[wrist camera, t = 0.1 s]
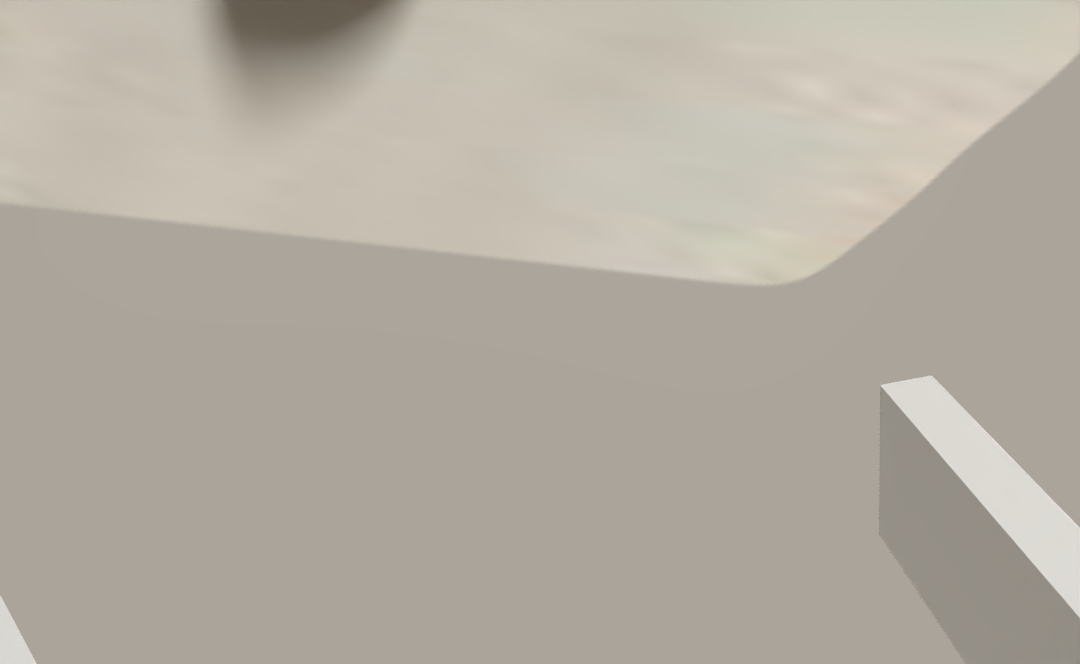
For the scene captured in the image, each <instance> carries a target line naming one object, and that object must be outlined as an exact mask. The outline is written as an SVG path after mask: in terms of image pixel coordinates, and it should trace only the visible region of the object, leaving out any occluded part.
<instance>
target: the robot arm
mask: <svg viewBox="0 0 1080 664" xmlns="http://www.w3.org/2000/svg"><path fill="white" fill-rule="evenodd" d="M879 512H880V513H879V515H880V517H879V535H880V536H881V538H882V539H883V541H884V542H885V544H886V545H887V547H888V548H889V550H890V551H891V553H892V554H893V556H894V557H895V558H896V560H897V562H898V563H899V565H900V566H901V568H902V569H903V571H904V572H905V574H906V575H907V577H908V578H909V580H910V581H911V583H912V584H913V586H914V587H915V589H916V590H917V592H918V593H919V595H920V596H921V598H922V599H923V601H924V602H925V604H926V605H927V607H928V608H929V610H930V611H931V613H932V614H933V616H934V617H935V619H936V620H937V622H938V623H939V625H940V626H941V628H942V629H943V631H944V632H945V634H946V635H947V637H948V638H949V640H950V641H951V642H952V644H953V646H954V647H955V649H956V650H957V652H958V653H959V655H960V656H961V658H962V659H963V661H964V662H965V664H1080V528H1079V527H1078V526H1077V525H1076V524H1075V523H1074V521H1072V520H1071V518H1070V517H1069V516H1068V515H1067V514H1066V513H1065V512H1064V511H1063V510H1062V509H1061V508H1060V507H1059V506H1058V505H1057V504H1056V503H1055V502H1054V501H1053V500H1052V499H1051V498H1050V497H1049V496H1048V495H1047V494H1046V493H1045V492H1044V491H1043V490H1042V489H1041V488H1040V487H1039V486H1038V484H1036V482H1035V481H1034V480H1033V479H1032V478H1031V477H1030V476H1029V475H1028V474H1027V473H1026V472H1025V471H1024V470H1023V469H1022V468H1021V467H1020V466H1019V465H1018V464H1017V463H1016V462H1015V461H1014V460H1013V459H1012V458H1011V457H1010V456H1009V455H1008V454H1007V453H1006V452H1005V451H1004V450H1003V448H1002V447H1000V445H999V444H998V443H997V442H996V441H995V440H994V439H993V438H992V437H991V436H990V435H989V434H988V433H987V432H986V431H985V430H984V429H983V428H982V427H981V426H980V425H979V424H978V423H977V422H976V421H975V420H974V419H973V418H972V417H971V416H970V415H969V414H968V413H967V412H966V411H965V409H964V408H962V406H961V405H960V404H959V403H958V402H957V401H956V400H955V399H954V398H953V397H952V396H951V395H950V394H949V393H948V392H947V391H946V390H945V389H944V388H943V387H942V386H941V385H940V384H939V383H938V382H937V381H936V380H935V379H934V378H933V377H932V376H926V377H921V378H916V379H911V380H906V381H900V382H895V383H889V384H884V385H880V507H879ZM0 664H36V662H35V660H34V658H33V656H32V654H31V652H30V651H29V649H28V647H27V645H26V643H25V641H24V639H23V637H22V635H21V634H20V632H19V630H18V628H17V626H16V624H15V623H14V620H13V619H12V617H11V615H10V613H9V611H8V609H7V607H6V605H5V603H4V602H3V600H2V598H1V596H0Z"/></svg>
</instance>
